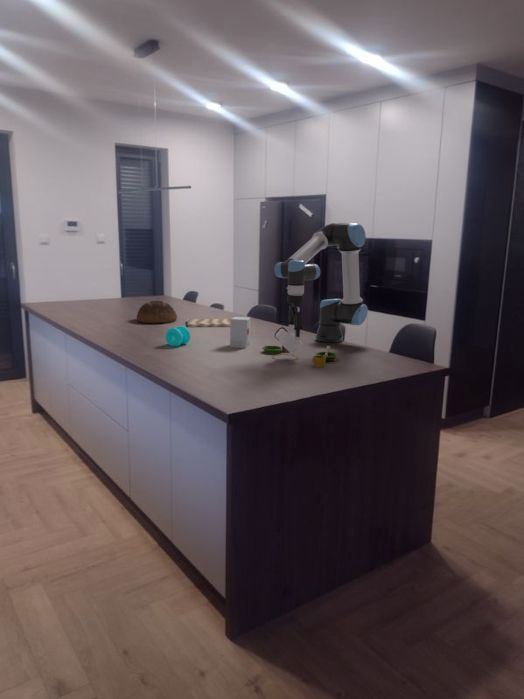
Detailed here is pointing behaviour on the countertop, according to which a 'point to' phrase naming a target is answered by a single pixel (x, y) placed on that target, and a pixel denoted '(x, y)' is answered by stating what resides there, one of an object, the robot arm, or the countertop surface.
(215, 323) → the cutting board
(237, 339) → the supplement box
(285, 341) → the medicine bottle
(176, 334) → the donuts
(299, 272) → the robot arm
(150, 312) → the bread
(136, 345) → the countertop surface
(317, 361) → the tableware set
